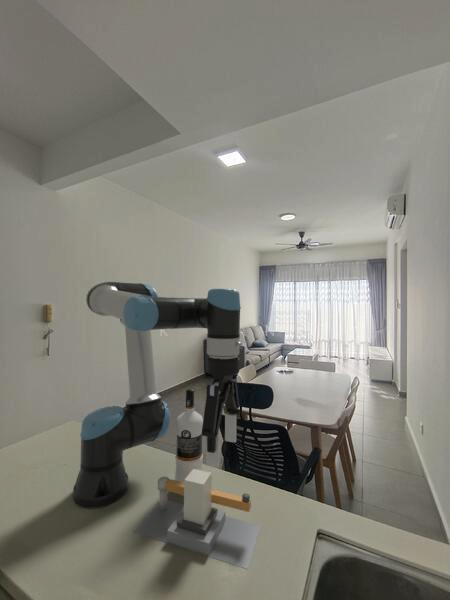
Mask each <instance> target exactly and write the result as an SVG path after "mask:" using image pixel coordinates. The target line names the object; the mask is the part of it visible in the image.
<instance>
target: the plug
mask: <svg viewBox="0 0 450 600" xmlns="http://www.w3.org/2000/svg"><path fill="white" fill-rule="evenodd" d="M212 480H213V477H212V472H210V471H205V470H203V471H201V470H197V469H193V470H192V471H191V472H190V474H189V475H188V476H187V477H186V478H185V480H184V496H183V505H184V512H183V514H182V515H181V516H180V518H179V519H178V521H177V526H178V527H181V528H185V529H188V530H191V531H195V532H198V533H201V534H204V535H206V533H207V531H208V530H209V528H210V526H211V524H212V522H213V520H214V518H215V517H216V515H217V513H218V509H219V508H216V507H213V506H212V502H211V493H212V490H213V489H212V483H213V482H212Z"/></svg>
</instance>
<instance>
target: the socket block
mask: <svg viewBox="0 0 450 600" xmlns="http://www.w3.org/2000/svg"><path fill="white" fill-rule="evenodd" d="M217 509H218V513H217V515H216V517H215V518H214V520H213V522H212V524H211V526H210V528H209V530H208V531H207V533H206V535H204V534H201V533H198V532H195V531H191V530H188V529H185V528H181V527H178V526H177V521H178V519H179V518H180V516H181V515H182V514H183V512H184V503H178V502H175V501H173V500H168V491H159V501H158V502H157V503H156V504H155V506H154V507H153V508H152V509H151V511H149V512H148V514H147V515H146V516H145V517H144V518H143V519H142V521H141V522H140V523H139V524H138V525H137V526H136V528H135V529H134V530H133V533H137V534H140V535H142V536H146V537H148V538H151V539H154V540H158V541H160V542H163V543H167V544H169V545H173V546H175V547H178V548H182V549H185V550H188V551H191V552H194V553H197V554H200V555H203V556H206V557H208V558H213V559H216V560H218V561H220V562H221V561H222V562H225V563H227V564H230V565H233V566H237V567H240V568H243V569H245V570H248V569H249V567H250V563H251V560H252V556H253V553H254V551H255V547H256V543H257V541H258V537H259V534H260V530H261V527H262V525H260V524H256V523H253V522H250V521H245V520H241V519H238V518H233V517H230V516H227V515H226V511H225V510H223V509H219V508H217Z"/></svg>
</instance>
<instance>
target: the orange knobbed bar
mask: <svg viewBox="0 0 450 600" xmlns="http://www.w3.org/2000/svg"><path fill="white" fill-rule="evenodd" d="M157 491H159V492H160V491H167V492H170V493H174V494H178V495H180V494H181V495H180V496H183V495H184V483H183V482H179V481H175V480H174V479H170V478H169V477H168V476H162V477H159V478H158V479H157ZM211 504H216V505H220V506H223V507H228V508H231V509H235V510H238V511H244V512H247V513H250V511H251V508H252V498H251V496H250V494H249V493H243V494H242V496H241V495H237V494H233V493H228V492H224V491H220V490H216V489H212V493H211Z"/></svg>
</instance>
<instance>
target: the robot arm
mask: <svg viewBox="0 0 450 600" xmlns="http://www.w3.org/2000/svg"><path fill="white" fill-rule="evenodd" d="M85 300H86V305H87V307H88V309H89V310H90V311H91V312H93V313H94V314H96V315H99V316H101V317H106V316H110V317H111V316H112V317H115V318H117V319H119V322H120V323H121V324H122V325H123V327H124V329H125V330H124V332H125V333H124V334H125V345H126V359H127V374H128V376H127V377H128V387H129V397H128V399H126V401H125V409H124V408H123V407H122V406H119V405H112V406H104V407H101V408H97V409H95V410H93V411H92V412H89V413H88V414H87V415H86V416H85V417H84V418H83V420H82V421H81V428H80V429H81V430H80V469H79V471H78V475H77V477H76V481H75V483H74V486H73V489H72V500H73V503H74V505H76V506H78V507H80V508H84V509H95V508H97V509H98V508H101V507H105V506H109V505H110V504H112V503H114V502H116V501H118V500H120V499H121V498H122V497H123V496H124V495H125V494H126V493H127V491H128V488H129V476H128V473H127V472H126V468H125V464H124V461H123V458H124V457H123V455H124V451H126V450H129V449H132V448H135V447H138V446H141V445H143V444H147V443H152V442H154V441H157V440H159V439H161V438H163V437H164V436H165V435H166V434H167V432H168V430H169V428H170V424H171V423H170V422H171V412H170V408H168V407H169V406H168V403H167V402H166V401H163V400H162V396H161V395H160V394H159V393H158V392H157V389H156V388H157V387H156V377H155V375H156V374H155V365H154V353H153V343H152V342H153V341H152V340H153V339H152V332H151V331H152V330H153V331H154V330H174V329H175V330H176V329H206V330H207V333H206V335H207V336H206V355H208V356H207V357H206V373H208V374H209V375H211V376H213V379H212V380H213V381H212V383H211V384H207V385H206V396H205V397H206V400H205V404H204V406H205V407H204V411H203V412H204V413H203V426H202V436H203V437H205V438H206V442H205V443H206V444H205V445H206V450H205V452H206V454H205V466H207V467H211V468H216V469H219V467H220V465H221V464H220V460H221V459H220V455H221V454H220V453H221V451H220V447H221V446H220V445H221V443H220V442H221V440H220V439H221V434H219V431H220V426H221V419H222V415H223V410H224V407H225V411H226V413H225V414H224V415H225V416H224V441H225V442H229V443H237V415H240V413H241V409H240V400H239V391H238V390H239V389H238V383H237V382H238V375H239V373H240V358H239V355H240V347H242V345H243V344H242V342H241V341H240V336H241V335H240V334H241V333H240V332H241V331H240V330H241V329H240V328H241V327H240V326H241V324H240V322H241V309H242V307H241V298H240V292H239V291H238V290H237V289H234V288H212V289H211V288H210V289H209V290H208V292H207V297H206V298H203V297H202V298H195V297H194V298H193V297H164V296H163V297H162V296H159V295H158V292H157V291H156V289H155V288H154V287H153V286H152V285H150V284H145V283H141V282H139V283H137V282H136V283H133V282H132V283H131V282H119V281H104V282H101V283H97V284H95V285H93V286H92V287H91V288H90V289H89V291H88V292H87V294H86V299H85Z"/></svg>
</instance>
